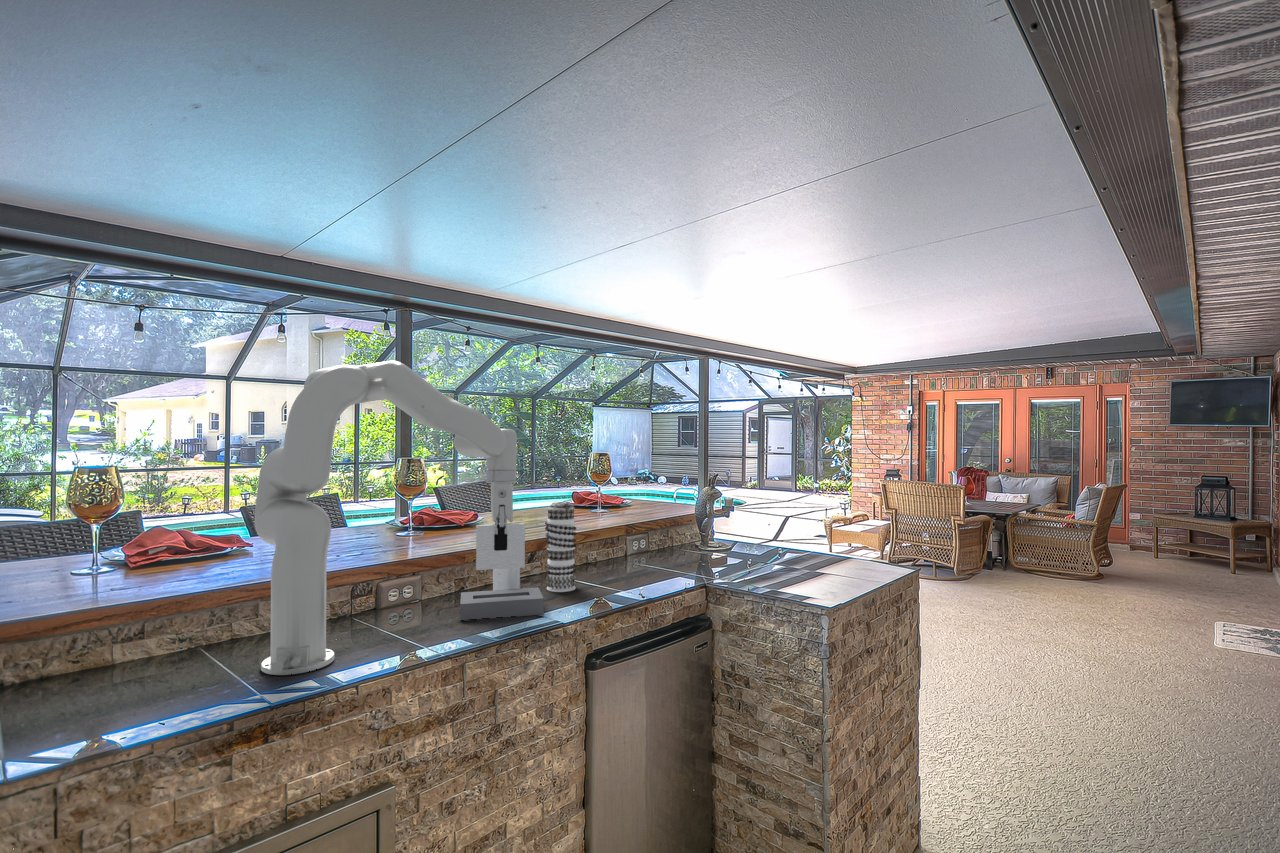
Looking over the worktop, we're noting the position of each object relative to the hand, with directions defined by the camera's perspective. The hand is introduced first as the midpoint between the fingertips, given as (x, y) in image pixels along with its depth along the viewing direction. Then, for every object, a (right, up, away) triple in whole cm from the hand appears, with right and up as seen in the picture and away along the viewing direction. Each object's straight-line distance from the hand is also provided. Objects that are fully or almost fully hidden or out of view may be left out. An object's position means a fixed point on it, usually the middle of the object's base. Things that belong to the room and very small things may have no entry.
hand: (500, 549), depth 160 cm
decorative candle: (+12, -16, +24) cm, 32 cm away
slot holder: (0, -16, 0) cm, 16 cm away
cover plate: (0, -5, 0) cm, 5 cm away
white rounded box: (-1, -16, +14) cm, 22 cm away
